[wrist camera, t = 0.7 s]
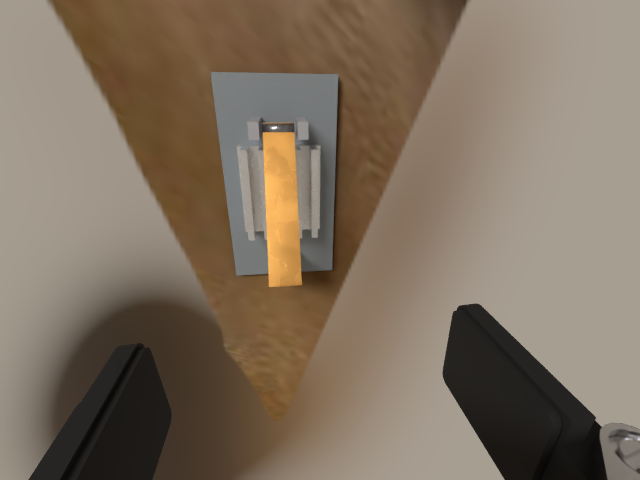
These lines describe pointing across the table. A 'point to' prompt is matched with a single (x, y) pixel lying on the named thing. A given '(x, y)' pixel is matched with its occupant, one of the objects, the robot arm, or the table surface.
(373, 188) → the table surface
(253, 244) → the cpu board
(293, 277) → the strap
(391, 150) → the table surface
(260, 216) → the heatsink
